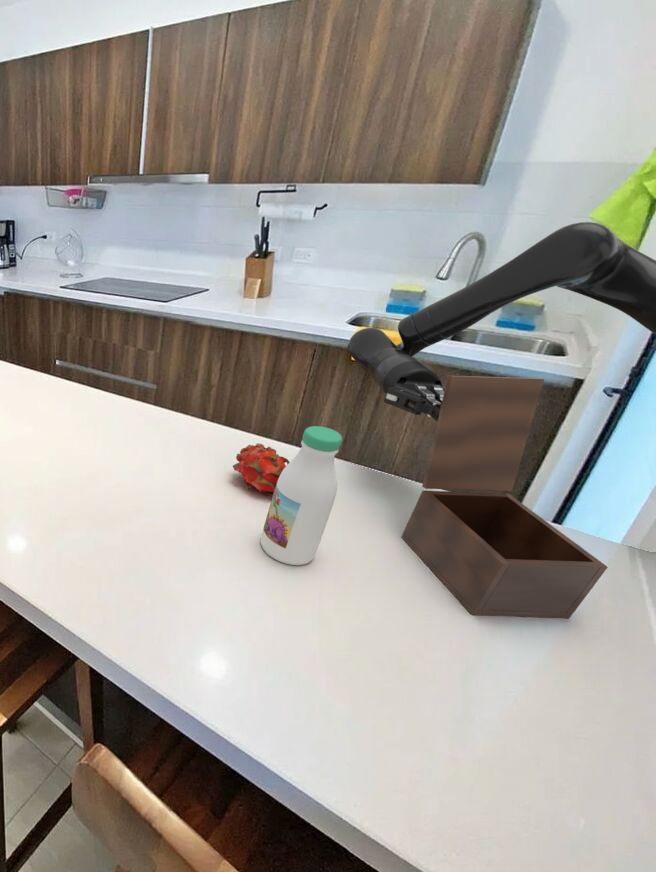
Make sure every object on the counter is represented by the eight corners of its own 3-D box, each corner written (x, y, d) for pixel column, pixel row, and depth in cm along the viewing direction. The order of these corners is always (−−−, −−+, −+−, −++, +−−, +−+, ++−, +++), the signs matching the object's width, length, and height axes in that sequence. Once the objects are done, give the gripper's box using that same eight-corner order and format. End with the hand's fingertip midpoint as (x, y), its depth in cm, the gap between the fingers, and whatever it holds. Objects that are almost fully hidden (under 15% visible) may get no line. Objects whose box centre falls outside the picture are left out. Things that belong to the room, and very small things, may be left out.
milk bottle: (309, 538, 78) (349, 424, 68) (318, 571, 71) (363, 450, 62) (257, 529, 80) (289, 416, 70) (261, 560, 73) (296, 441, 63)
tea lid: (544, 379, 69) (539, 378, 70) (452, 376, 69) (447, 375, 70) (512, 491, 74) (507, 489, 74) (425, 488, 74) (421, 486, 75)
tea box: (569, 618, 65) (608, 567, 61) (471, 615, 65) (502, 563, 61) (482, 539, 79) (508, 493, 74) (400, 536, 79) (422, 490, 74)
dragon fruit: (228, 476, 96) (285, 513, 89) (216, 468, 89) (276, 506, 82) (255, 440, 95) (314, 474, 88) (244, 428, 88) (307, 464, 81)
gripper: (372, 357, 89) (414, 394, 74) (455, 363, 87) (514, 403, 72) (359, 396, 92) (396, 438, 77) (438, 403, 90) (491, 448, 75)
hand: (452, 421), depth 75 cm, fingers closed
